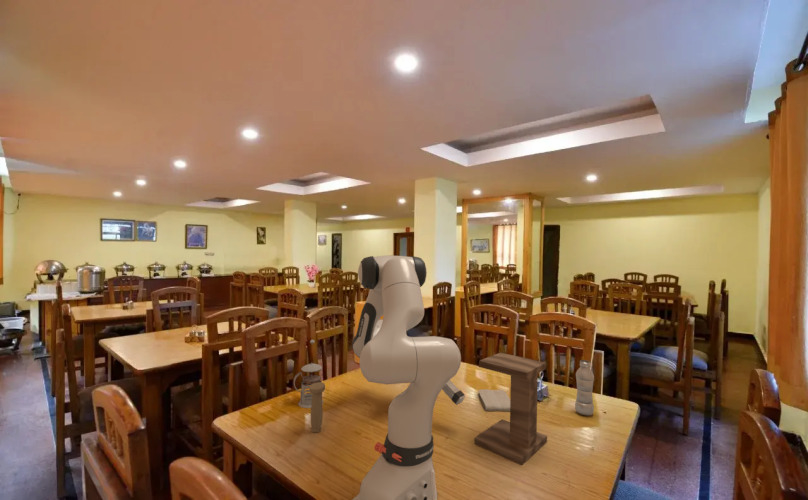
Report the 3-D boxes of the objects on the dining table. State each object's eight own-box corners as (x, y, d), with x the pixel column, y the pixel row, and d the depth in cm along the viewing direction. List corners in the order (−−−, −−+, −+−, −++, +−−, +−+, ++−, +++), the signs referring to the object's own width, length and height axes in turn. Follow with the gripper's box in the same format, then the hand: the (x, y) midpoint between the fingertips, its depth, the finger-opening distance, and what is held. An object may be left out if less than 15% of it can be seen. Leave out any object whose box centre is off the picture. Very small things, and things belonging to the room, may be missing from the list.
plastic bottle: (574, 415, 135) (575, 362, 135) (575, 408, 141) (576, 358, 141) (593, 419, 132) (594, 365, 132) (593, 412, 138) (594, 360, 138)
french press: (325, 406, 139) (326, 341, 139) (294, 410, 135) (295, 344, 135) (321, 396, 148) (322, 336, 148) (292, 400, 144) (293, 338, 144)
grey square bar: (456, 405, 120) (460, 398, 119) (414, 359, 133) (418, 353, 132) (461, 402, 122) (465, 395, 121) (420, 358, 136) (423, 351, 134)
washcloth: (503, 395, 155) (504, 387, 155) (516, 413, 137) (516, 405, 137) (476, 394, 155) (476, 387, 155) (485, 412, 137) (485, 404, 137)
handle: (306, 435, 117) (307, 389, 117) (312, 425, 123) (313, 382, 123) (320, 436, 116) (321, 389, 116) (326, 426, 123) (327, 382, 123)
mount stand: (522, 465, 102) (523, 374, 103) (474, 443, 113) (475, 361, 114) (547, 441, 115) (548, 361, 116) (501, 424, 126) (503, 351, 127)
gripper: (381, 352, 133) (408, 361, 123) (417, 343, 148) (444, 350, 138) (381, 369, 133) (408, 379, 123) (417, 358, 148) (444, 366, 138)
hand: (427, 364), depth 131 cm, fingers closed on grey square bar, 3 cm apart
